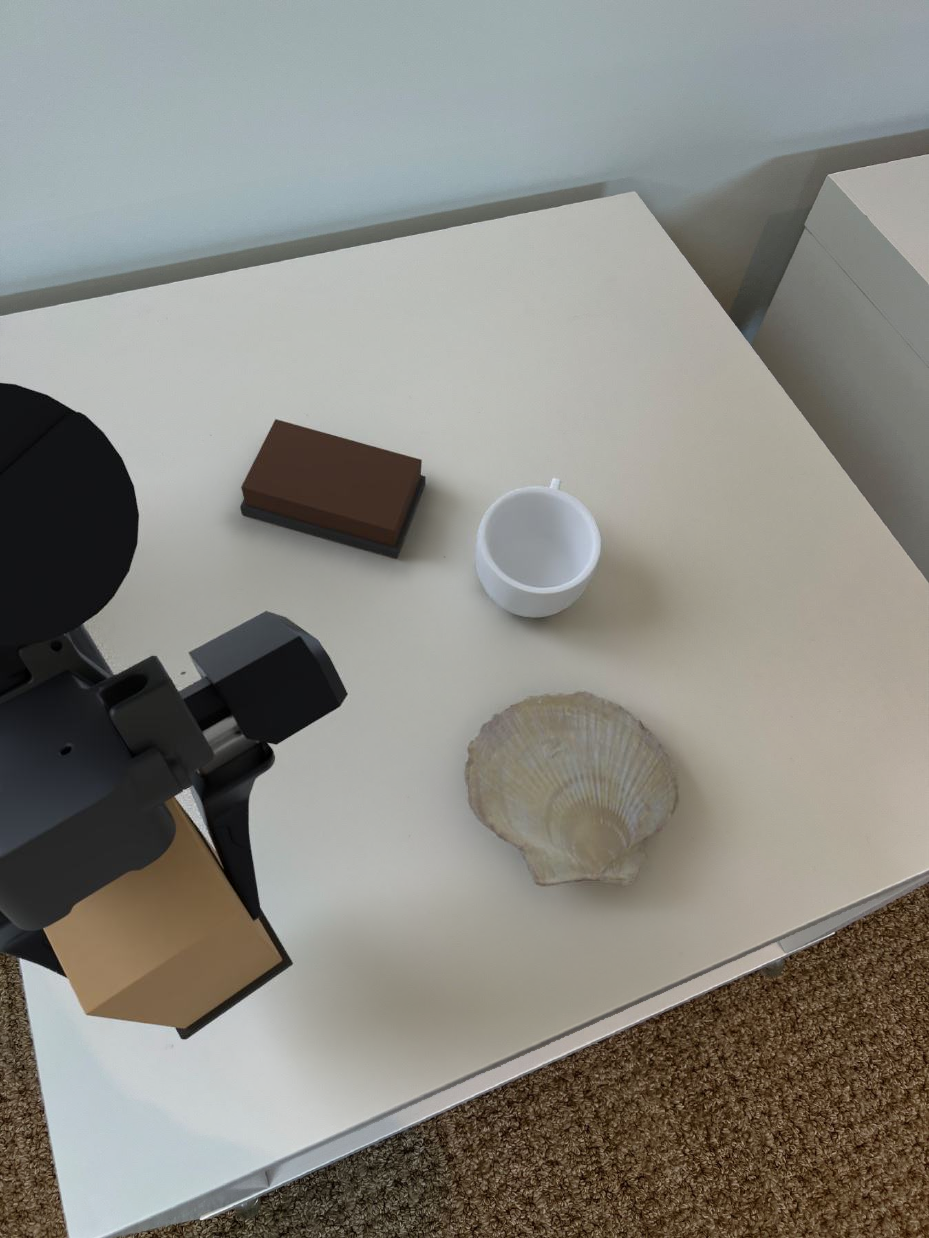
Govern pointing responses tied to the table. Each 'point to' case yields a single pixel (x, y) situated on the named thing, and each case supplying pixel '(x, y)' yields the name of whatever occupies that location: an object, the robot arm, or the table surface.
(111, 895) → the tan block on base
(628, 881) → the seashell
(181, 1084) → the table surface
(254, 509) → the brown slab
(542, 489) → the teacup
